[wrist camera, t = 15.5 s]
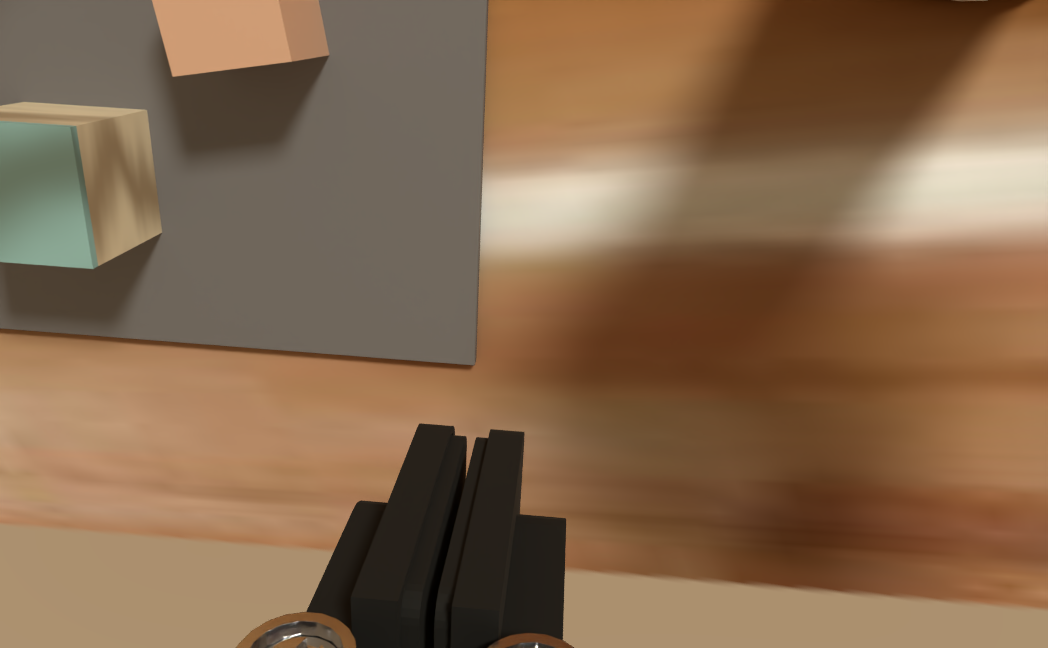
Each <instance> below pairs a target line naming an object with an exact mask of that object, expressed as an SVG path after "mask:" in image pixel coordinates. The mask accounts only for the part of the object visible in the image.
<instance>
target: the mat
mask: <svg viewBox="0 0 1048 648" xmlns="http://www.w3.org/2000/svg"><path fill="white" fill-rule="evenodd" d="M319 5H320V10H321V15H322V20H323V25H324V30H325V35H326V40H327V45H328V50H329V55H328V56H322V57H316V58H310V59H304V60H298V61H292V62H285V63H277V64H269V65H261V66H253V67H246V68H238V69H230V70H222V71H214V72H206V73H199V74H191V75H183V76H175V77H173V76H172V72H171V69H170V65H169V61H168V58H167V54H166V50H165V47H164V43H163V39H162V36H161V32H160V28H159V25H158V21H157V17H156V14H155V10H154V6H153V2H152V0H0V106H2V105H8V104H14V103H21V102H34V103H49V104H64V105H80V106H95V107H110V108H125V109H141V110H147V114H148V122H149V130H150V138H151V146H152V154H153V162H154V171H155V179H156V187H157V195H158V203H159V211H160V219H161V227H162V233H160V234H159V235H157V236H155V237H153V238H151V239H149V240H147V241H145V242H143V243H141V244H139V245H138V246H136V247H134V248H132V249H130V250H128V251H126V252H124V253H122V254H120V255H119V256H117V257H115V258H113V259H111V260H109V261H107V262H105V263H103V264H101V265H100V266H98V267H96V268H94V269H87V268H74V267H60V266H47V265H34V264H20V263H7V262H0V328H3V329H16V330H28V331H41V332H54V333H67V334H80V335H92V336H105V337H118V338H131V339H144V340H156V341H169V342H182V343H195V344H208V345H220V346H233V347H246V348H259V349H272V350H284V351H297V352H310V353H323V354H336V355H348V356H361V357H374V358H387V359H400V360H413V361H425V362H438V363H451V364H464V365H475V362H476V345H477V316H478V287H479V258H480V228H481V199H482V170H483V141H484V112H485V83H486V53H487V24H488V0H319Z"/></svg>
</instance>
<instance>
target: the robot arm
mask: <svg viewBox="0 0 1048 648" xmlns="http://www.w3.org/2000/svg"><path fill="white" fill-rule="evenodd" d="M953 1H986V0H953ZM466 451H467V439H466V436H455V429H454V426H444V425H432V424H419V425H418V427H417V430H416V432H415V435H414V437H413V440H412V442H411V445H410V448H409V450H408V453H407V455H406V458H405V460H404V463H403V465H402V468H401V470H400V473H399V475H398V478H397V481H396V483H395V486H394V488H393V491H392V493H391V496H390V498H389V501H388V503H383V502H371V501H359V502H357V504H356V506H355V507H354V509H353V511H352V513H351V516H350V518H349V520H348V522H347V524H346V526H345V529H344V531H343V533H342V535H341V537H340V540H339V542H338V544H337V546H336V548H335V550H334V553H333V555H332V557H331V559H330V561H329V564H328V566H327V568H326V570H325V573H324V575H323V577H322V579H321V581H320V583H319V585H318V588H317V590H316V592H315V594H314V597H313V599H312V601H311V603H310V605H309V607H308V609H307V612H301V613H294V614H286V615H283V616H280V617H277V618H275V619H272V620H269V621H267V622H265V623H264V624H262V625H260V626H259V627H257V628H255V629H254V630H252V631H251V632H250V633H249V634H248V635H247V636H246V637H245V638H244V639H243V640H242V641H241V642H240V643H239V644H238V646H237V647H236V648H574V647H572V646H571V645H569V644H568V643H566V642H565V641H563V610H564V609H563V608H564V576H565V543H566V518H555V517H544V516H532V515H521V514H520V499H521V483H522V467H523V452H524V432H516V431H504V430H492V429H491V430H490V433H489V438H479V437H477V438H476V440H475V444H474V448H473V452H472V456H471V460H470V464H469V468H468V472H467V476H466Z"/></svg>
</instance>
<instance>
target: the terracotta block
mask: <svg viewBox="0 0 1048 648" xmlns="http://www.w3.org/2000/svg"><path fill="white" fill-rule="evenodd" d="M152 2H153V6H154V10H155V14H156V17H157V21H158V25H159V28H160V32H161V36H162V39H163V43H164V47H165V50H166V54H167V58H168V61H169V65H170V69H171V72H172V76H173V77H175V76H183V75H191V74H199V73H206V72H214V71H222V70H230V69H238V68H246V67H253V66H261V65H269V64H277V63H285V62H292V61H298V60H304V59H310V58H316V57H322V56H328V55H329V50H328V45H327V40H326V35H325V30H324V25H323V20H322V15H321V10H320V5H319V0H152Z"/></svg>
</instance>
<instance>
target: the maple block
mask: <svg viewBox="0 0 1048 648" xmlns="http://www.w3.org/2000/svg"><path fill="white" fill-rule="evenodd" d="M160 233H162V227H161V219H160V211H159V203H158V195H157V187H156V179H155V171H154V162H153V154H152V146H151V138H150V130H149V122H148V114H147V110H141V109H125V108H110V107H95V106H80V105H64V104H49V103H34V102H21V103H14V104H8V105H2V106H0V262H7V263H20V264H34V265H47V266H60V267H74V268H87V269H94V268H96V267H98V266H100V265H101V264H103V263H105V262H107V261H109V260H111V259H113V258H115V257H117V256H119V255H120V254H122V253H124V252H126V251H128V250H130V249H132V248H134V247H136V246H138V245H139V244H141V243H143V242H145V241H147V240H149V239H151V238H153V237H155V236H157V235H159V234H160Z"/></svg>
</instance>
